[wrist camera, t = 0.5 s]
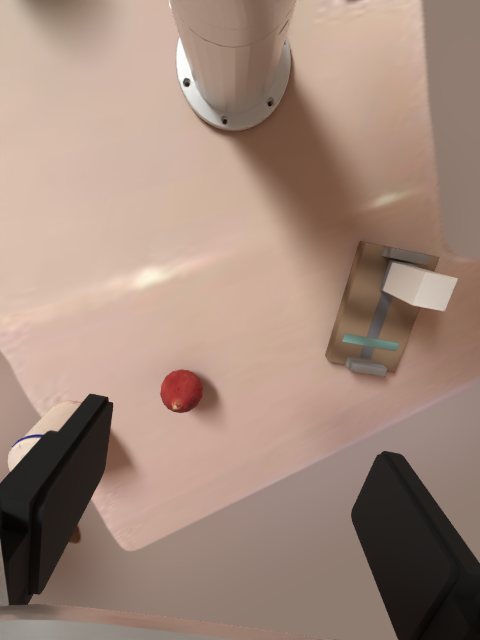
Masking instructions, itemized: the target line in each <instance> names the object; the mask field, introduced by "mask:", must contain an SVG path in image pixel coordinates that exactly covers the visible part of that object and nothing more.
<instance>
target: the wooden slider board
mask: <svg viewBox="0 0 480 640" xmlns="http://www.w3.org/2000/svg"><path fill="white" fill-rule="evenodd" d="M390 260H394V261H399V262H404V263H409V264H413V265H417V267H418V268H422V269H426V270H429V271H433V272H434V270H435V267H436V265H437V262H438V260H439V257H436V256H431V255H426V254H421V253H416V252H411V251H406V250H402V249H397V248H392V247H387V246H382V245H377V244H372V243H367V242H362V241H360V242H359V246H358V249H357V252H356V256H355V259H354V262H353V265H352V269H351V272H350V275H349V279H348V282H347V285H346V288H345V292H344V295H343V298H342V301H341V305H340V308H339V311H338V315H337V318H336V321H335V324H334V328H333V331H332V334H331V337H330V341H329V344H328V347H327V351H326V354H325V356H326V358H327V360H328V361H329V362H334V363H340V364H346V366H347V367H348V369H349V370H350V371H354V372H360V373H366V374H371V375H377V376H383V377H385V374H386V371H387V372H393V373H395V370H396V367H397V365H398V362H399V360H400V357H401V355H402V352H403V349H404V347H405V344H406V342H407V339H408V337H409V334H410V332H411V329H412V326H413V324H414V321H415V319H416V316H417V314H418V311H419V308H420V307H419V306H414V305H411V304H409V303H407V302H405V301H403V300H401V299H399V298H397V297H395V296H393V295H391V294H389V293H385V292H383V291H381V290H380V287H381V284H382V281H383V278H384V275H385V272H386V270H387V267H388V264H389V261H390Z"/></svg>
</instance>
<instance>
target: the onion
mask: <svg viewBox="0 0 480 640" xmlns="http://www.w3.org/2000/svg"><path fill="white" fill-rule="evenodd" d="M202 390H203V387H202V384H201V382H200V379H199V378H198V377H197V376H196V375H195V374H194V373H192V372H190V371H188V370H177V371H173V372H171V373H170V374H169V375H167V376H166V378H165V380H164V381H163V383H162V385H161V394H160V395H161V398H162V401H163V403H164V405H165V406H166V407H167V408H168V409H170V410H171V411H173V412H178V413H183V412H188V411H190V410H191V409H193V408H194V407H195V406H197V404H198V402H199V401H200V399H201V397H202Z"/></svg>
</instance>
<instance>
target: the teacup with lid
mask: <svg viewBox="0 0 480 640" xmlns="http://www.w3.org/2000/svg"><path fill="white" fill-rule="evenodd" d="M80 405H81V403H79V402H73V401H67V402H62V403H59V404H57V405H55V406H54V407H52V408H51V409H50V410H49V411H48V412H47V413H46V414H45V415H44V416H43V418H42V419H41V420H40V421H39V422H38V423H37V424H36V425H35V426H34V427H33V428H32V429H31V430H30V431H29V432H28V433H27V434H26V435H25V436H24V437H23V438H21V439H20V440H18V441H17V442H16V443H15V444H14V445H13V446H12V448H11V450H10V453H9V456H8V466H9V469H10V472H11V471H12V470H13V468H14V467H15V466H16V465H17V464H18V463H19V462H20V461H21V459H22V458H23V457H24V456H25V455H26V454H27V453H28V452H29V451H30V449H31V448H32V447H33V446H34V445H35V444H36V443H37V442H38V440H39V439H40V438H41V437H42V436H43V435H44V434H45V433H46V432H47V431H50V430H52V431H59V430H60V428H61V427H62V426H63V425H64V424H65V422H66V421H67V420H68V419H69V418H70V417H71V415H72V414H73V413H74V412H75V411H76V409H77V408H78V407H79V406H80Z"/></svg>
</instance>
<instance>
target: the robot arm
mask: <svg viewBox="0 0 480 640" xmlns="http://www.w3.org/2000/svg"><path fill="white" fill-rule="evenodd" d="M168 1H169V4H170V7H171V10H172V14H173V17H174V20H175V23H176V27H177V30H178V33H179V37H178V42H177V48H176V69H177V76H178V80H179V83H180V86H181V89H182V92H183V94H184V96H185V98H186V100H187V102H188V103H189V105H190V107H191V108H192V109H193V110H194V111H195V113H196V114H197V115H198V116H199V117H200V118H201V119H203V120H204V121H205V122H206V123H208V124H210V125H212V126H214V127H216V128H219V129H222V130H226V131H240V130H246V129H249V128H252V127H254V126H256V125H258V124H259V123H261V122H263V121H264V120H265V119H266V118H267V117H268V116H269V115H270V114H272V113H273V111H274V110H275V108H276V107H277V106H278V104H279V103H280V101H281V99H282V96H283V94H284V92H285V89H286V86H287V84H288V79H289V74H290V64H291V55H290V46H289V41H288V38H287V32H288V28H289V24H290V21H291V17H292V14H293V10H294V7H295V3H296V0H168ZM187 83H189V84H190V86H189V87H186V84H187ZM269 102H270V103H271V104H272V106H268V103H269ZM224 120H226V121H227V123H226V124H223V121H224ZM108 401H109V399H108V397H105V396H100V395H95V394H89V395H88V396H87V397H86V399H85V400H84V401H83V402H82V403H81V405H80V406H79V407H78V408H77V409H76V411H75V412H74V413H73V414H72V415H71V417H70V418H69V419H68V420H67V421H66V422H65V424H64V425H63V426H62V427H61V428H60V430H59V431H52V430H50V431H47V432H46V433H45V434H44V435H43V436H42V437H41V438H40V439H39V440H38V442H37V443H36V444H35V445H34V446H33V447H32V448H31V449H30V451H29V452H28V453H27V454H26V455H25V456H24V457H23V458H22V459H21V461H20V462H19V463H18V464H17V465H16V466H15V467H14V468H13V470H12V471H11V472H10V473H9V474H8V475H7V476H6V477H5V479H4V480H3V481H2V482H1V483H0V640H335V639H326V638H320V637H313V636H306V635H298V634H291V633H284V632H276V631H269V630H262V629H254V628H246V627H240V626H231V625H224V624H216V623H209V622H201V621H193V620H186V619H178V618H170V617H163V616H155V615H147V614H140V613H130V612H122V611H112V610H102V609H93V608H85V607H75V606H60V605H40V604H33V605H28V603H29V601H30V600H31V598H32V596H33V594H40V593H41V592H42V591H43V590H44V588H45V586H46V584H47V582H48V580H49V578H50V576H51V574H52V573H53V571H54V569H55V567H56V565H57V563H58V561H59V559H60V557H61V555H62V553H63V551H64V549H65V547H66V545H67V544H68V542H69V540H70V538H71V536H72V534H73V532H74V530H75V528H76V526H77V524H78V522H79V520H80V518H81V516H82V515H83V513H84V511H85V509H86V507H87V505H88V503H89V501H90V499H91V497H92V495H93V493H94V491H95V490H96V488H97V486H98V484H99V482H100V480H101V478H102V475H103V473H104V469H105V464H106V457H107V449H108V442H109V434H110V427H111V419H112V412H113V403H112V402H108ZM351 517H352V522H353V525H354V527H355V530H356V532H357V535H358V538H359V540H360V543H361V545H362V548H363V551H364V553H365V556H366V558H367V561H368V563H369V566H370V569H371V571H372V574H373V576H374V579H375V581H376V584H377V587H378V589H379V592H380V594H381V597H382V599H383V602H384V605H385V607H386V610H387V612H388V615H389V617H390V620H391V622H392V625H393V628H394V630H395V633H396V636H397V638H398V640H480V563H479V562H478V560H477V559H476V557H475V556H474V555H473V553H472V552H471V550H470V549H469V548H468V546H467V545H466V543H465V542H464V541H463V539H462V538H461V536H460V535H459V534H458V532H457V531H456V529H455V528H454V526H453V525H452V524H451V522H450V521H449V519H448V518H447V517H446V515H445V514H444V512H443V511H442V510H441V508H440V507H439V506H438V504H437V503H436V501H435V500H434V498H433V497H432V496H431V494H430V493H429V492H428V490H427V489H426V487H425V486H424V484H423V483H422V482H421V480H420V479H419V477H418V476H417V475H416V473H415V472H414V470H413V469H412V468H411V466H410V465H409V463H408V462H407V460H406V459H405V458H404V456H402V455H401V454H398V453H393V452H387V451H383V452H382V453H381V454H379V455H377V457H376V458H375V461H374V463H373V465H372V467H371V469H370V472H369V474H368V476H367V478H366V481H365V482H364V485H363V487H362V489H361V491H360V494H359V496H358V498H357V500H356V502H355V504H354V506H353V509H352V513H351Z"/></svg>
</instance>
